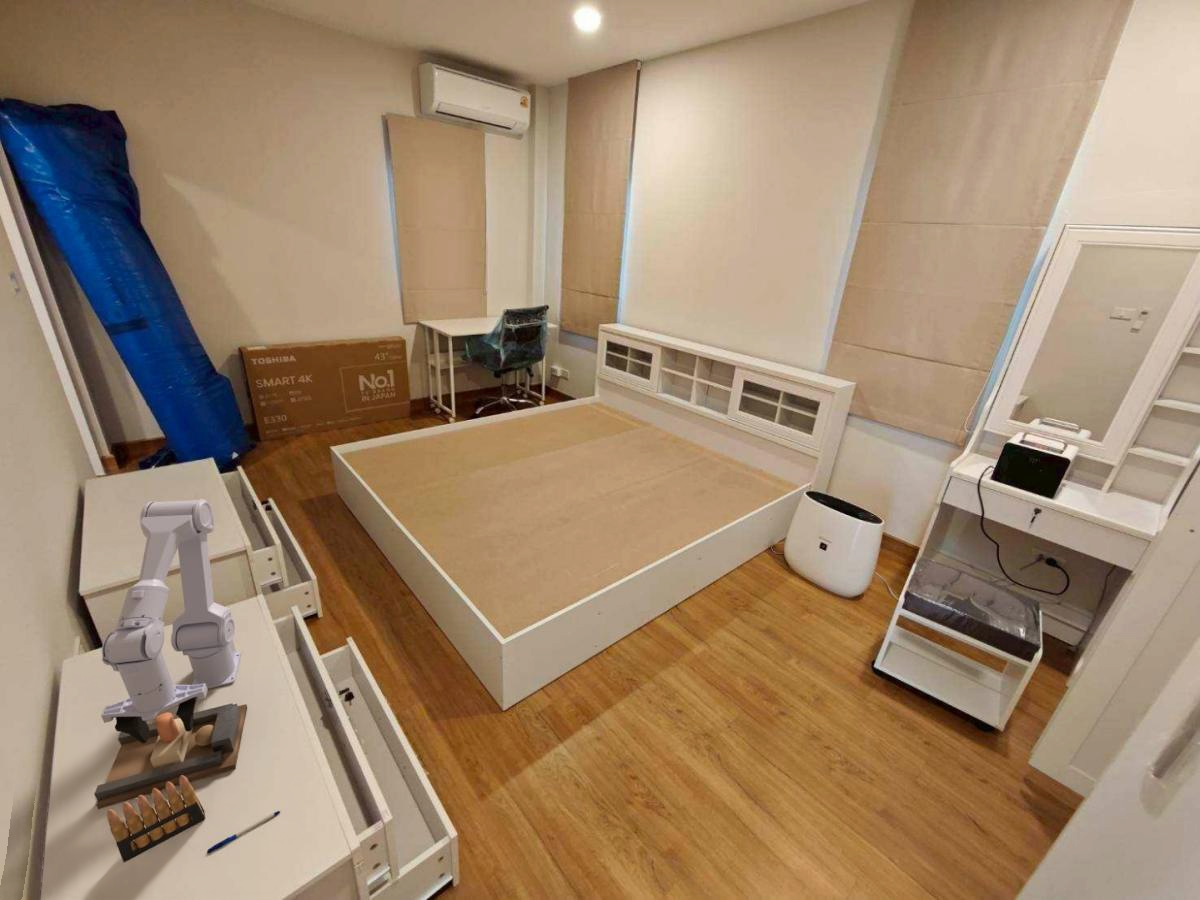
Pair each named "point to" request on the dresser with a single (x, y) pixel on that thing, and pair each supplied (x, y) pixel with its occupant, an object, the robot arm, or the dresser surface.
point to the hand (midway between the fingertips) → (168, 732)
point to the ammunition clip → (155, 819)
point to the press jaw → (169, 741)
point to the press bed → (143, 763)
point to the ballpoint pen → (241, 833)
